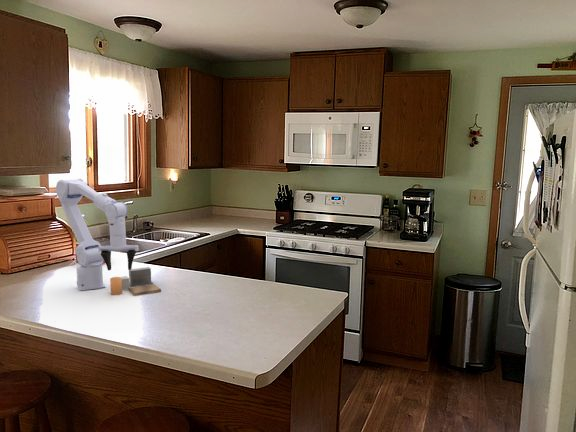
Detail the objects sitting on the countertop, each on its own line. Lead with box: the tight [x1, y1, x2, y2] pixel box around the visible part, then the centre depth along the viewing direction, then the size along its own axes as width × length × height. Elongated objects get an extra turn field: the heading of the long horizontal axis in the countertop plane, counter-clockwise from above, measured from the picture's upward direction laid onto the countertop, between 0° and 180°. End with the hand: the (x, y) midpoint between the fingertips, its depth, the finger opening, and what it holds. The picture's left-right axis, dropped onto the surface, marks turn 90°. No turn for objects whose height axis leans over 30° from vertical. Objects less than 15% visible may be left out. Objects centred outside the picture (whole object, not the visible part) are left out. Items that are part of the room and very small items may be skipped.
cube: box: [120, 275, 130, 291], centre depth 186 cm, size 4×4×4 cm
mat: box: [128, 283, 162, 297], centre depth 183 cm, size 10×9×1 cm
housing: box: [128, 266, 154, 287], centre depth 193 cm, size 9×4×6 cm, turn 120°
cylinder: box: [109, 276, 123, 296], centre depth 180 cm, size 4×4×6 cm
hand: (119, 269), depth 183 cm, fingers open, 7 cm apart
